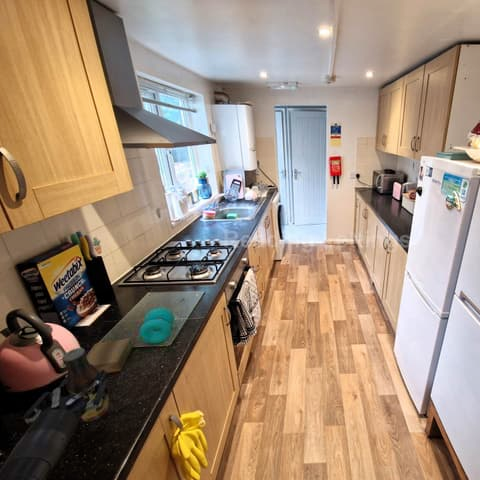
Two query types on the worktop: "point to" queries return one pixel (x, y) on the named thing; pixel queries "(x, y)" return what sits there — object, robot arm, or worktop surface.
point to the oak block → (110, 355)
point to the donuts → (157, 325)
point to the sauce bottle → (82, 379)
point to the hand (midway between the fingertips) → (87, 375)
